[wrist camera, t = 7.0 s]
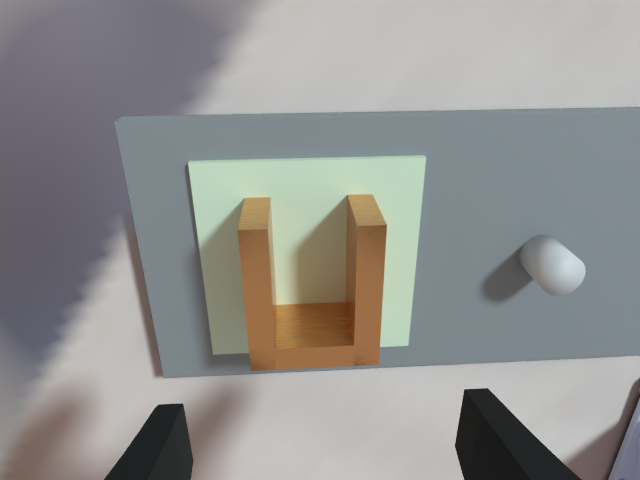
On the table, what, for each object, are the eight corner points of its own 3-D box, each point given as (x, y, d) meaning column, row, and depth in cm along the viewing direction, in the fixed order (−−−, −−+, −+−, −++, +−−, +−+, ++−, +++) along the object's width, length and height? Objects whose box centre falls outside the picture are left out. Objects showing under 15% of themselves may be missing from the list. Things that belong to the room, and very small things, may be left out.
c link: (367, 319, 21) (378, 364, 19) (255, 324, 21) (250, 370, 18) (372, 194, 19) (387, 225, 16) (244, 197, 18) (237, 230, 16)
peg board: (638, 342, 25) (681, 383, 22) (168, 363, 23) (153, 410, 21) (723, 105, 19) (793, 121, 17) (122, 116, 18) (94, 135, 15)
